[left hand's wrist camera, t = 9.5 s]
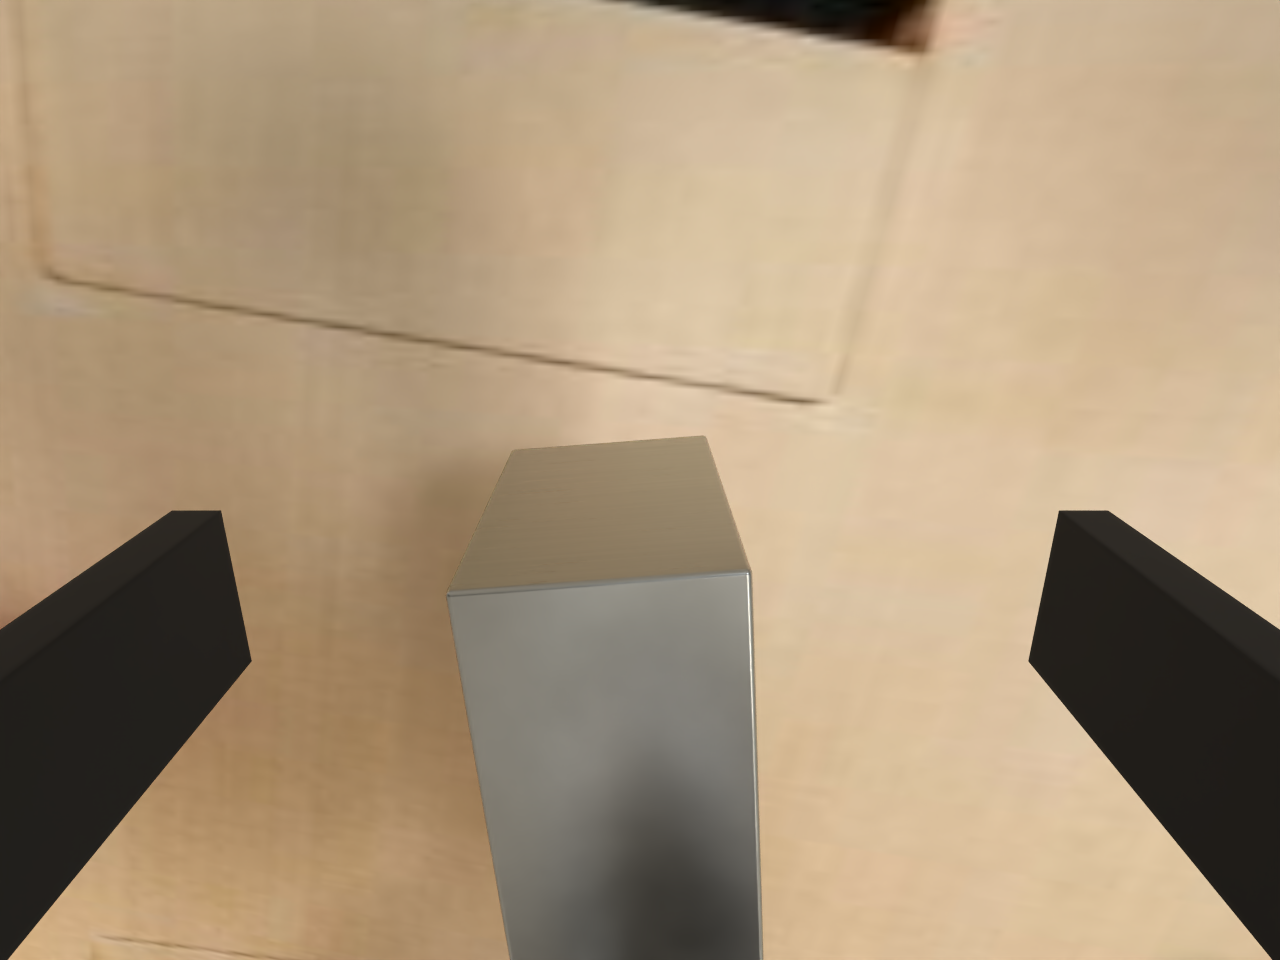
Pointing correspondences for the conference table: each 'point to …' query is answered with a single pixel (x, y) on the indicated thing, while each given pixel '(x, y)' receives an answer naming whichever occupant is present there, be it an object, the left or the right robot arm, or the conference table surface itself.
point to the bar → (614, 704)
